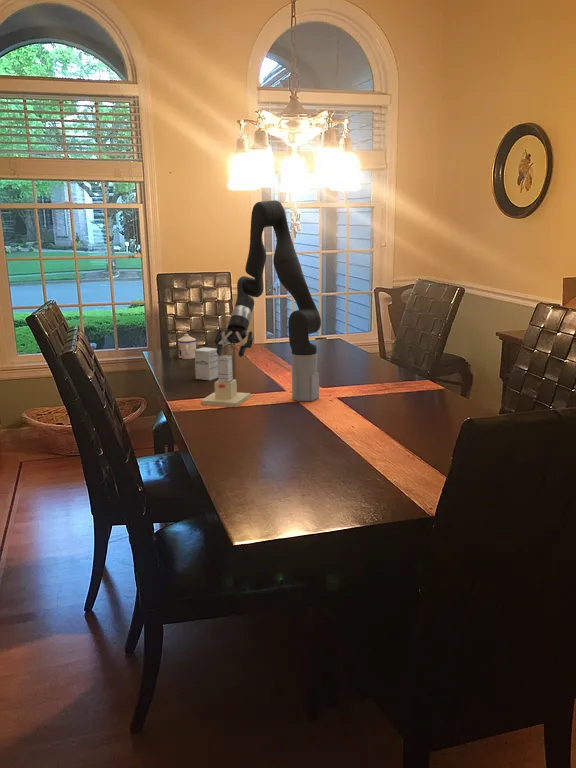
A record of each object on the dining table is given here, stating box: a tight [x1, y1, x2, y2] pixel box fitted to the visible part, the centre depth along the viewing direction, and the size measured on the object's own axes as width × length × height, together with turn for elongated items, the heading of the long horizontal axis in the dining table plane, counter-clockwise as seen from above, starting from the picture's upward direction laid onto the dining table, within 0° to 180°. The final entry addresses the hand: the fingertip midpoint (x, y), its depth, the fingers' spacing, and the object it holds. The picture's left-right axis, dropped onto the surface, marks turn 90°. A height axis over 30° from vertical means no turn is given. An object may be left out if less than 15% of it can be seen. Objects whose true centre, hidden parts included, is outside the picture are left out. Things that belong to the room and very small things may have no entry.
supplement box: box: [194, 347, 219, 381], centre depth 275 cm, size 7×7×13 cm
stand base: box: [200, 379, 252, 408], centre depth 240 cm, size 14×14×8 cm
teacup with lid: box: [177, 333, 197, 360], centre depth 317 cm, size 12×9×12 cm
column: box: [217, 354, 234, 383], centre depth 239 cm, size 4×4×15 cm
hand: (229, 355), depth 241 cm, fingers open, 8 cm apart
